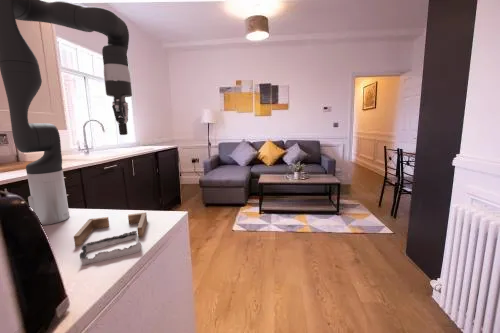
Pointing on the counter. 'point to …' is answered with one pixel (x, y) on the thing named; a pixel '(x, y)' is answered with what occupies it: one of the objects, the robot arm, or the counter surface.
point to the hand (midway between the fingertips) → (123, 134)
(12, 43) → the robot arm
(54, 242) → the counter surface
